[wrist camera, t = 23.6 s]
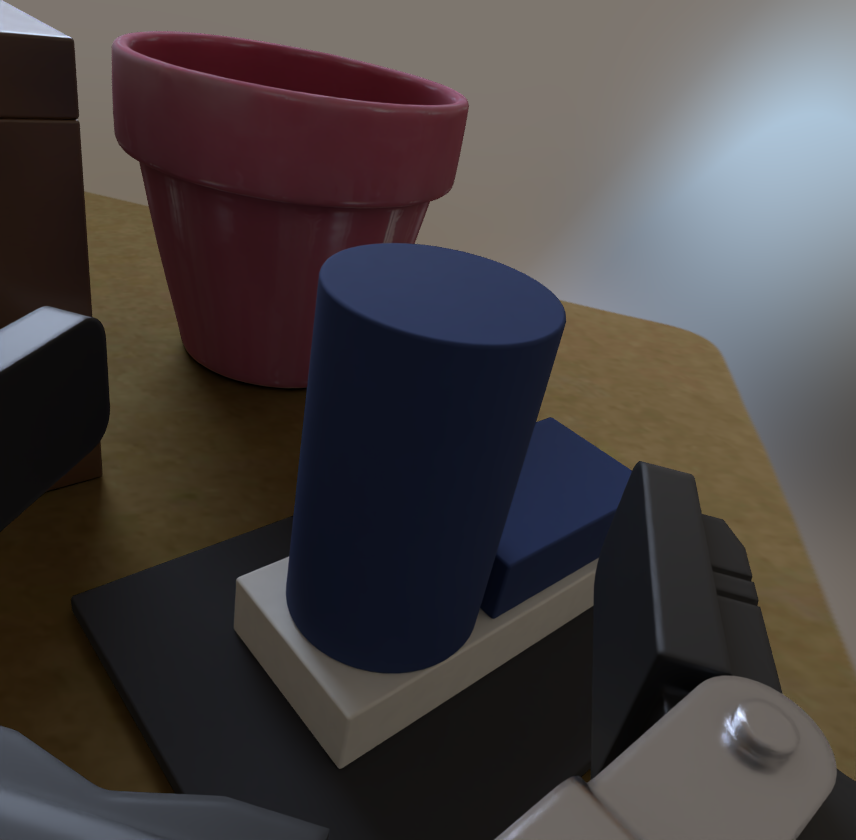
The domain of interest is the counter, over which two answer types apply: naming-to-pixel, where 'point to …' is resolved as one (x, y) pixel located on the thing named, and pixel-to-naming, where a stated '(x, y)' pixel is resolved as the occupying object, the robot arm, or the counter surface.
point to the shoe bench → (41, 183)
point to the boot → (425, 495)
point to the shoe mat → (293, 741)
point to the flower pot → (273, 180)
